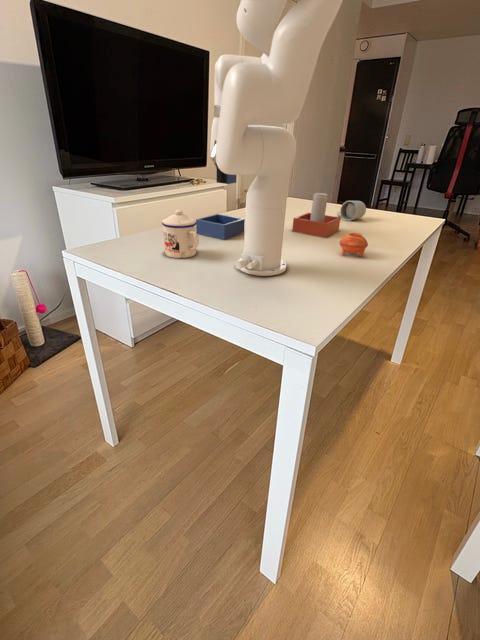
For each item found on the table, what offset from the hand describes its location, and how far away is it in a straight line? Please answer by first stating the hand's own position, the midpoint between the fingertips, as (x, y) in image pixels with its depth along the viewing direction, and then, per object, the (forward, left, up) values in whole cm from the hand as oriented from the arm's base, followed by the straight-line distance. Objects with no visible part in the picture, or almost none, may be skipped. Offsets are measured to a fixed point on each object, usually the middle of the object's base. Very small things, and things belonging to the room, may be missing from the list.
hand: (226, 181), depth 107 cm
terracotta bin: (+25, -22, -17) cm, 37 cm away
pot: (+6, -41, -17) cm, 45 cm away
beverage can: (+25, -22, -16) cm, 37 cm away
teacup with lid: (-25, -4, -17) cm, 30 cm away
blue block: (0, 0, 0) cm, 0 cm away
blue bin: (0, +2, -17) cm, 17 cm away
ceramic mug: (+53, -25, -17) cm, 61 cm away
